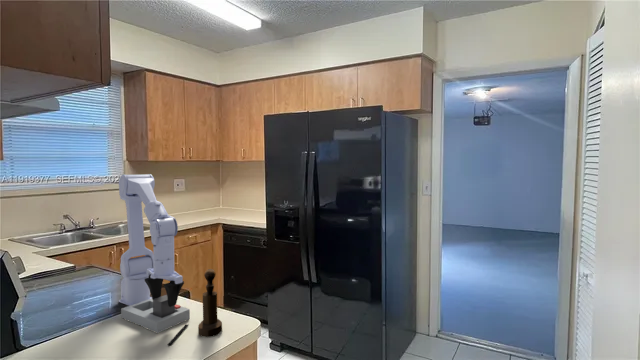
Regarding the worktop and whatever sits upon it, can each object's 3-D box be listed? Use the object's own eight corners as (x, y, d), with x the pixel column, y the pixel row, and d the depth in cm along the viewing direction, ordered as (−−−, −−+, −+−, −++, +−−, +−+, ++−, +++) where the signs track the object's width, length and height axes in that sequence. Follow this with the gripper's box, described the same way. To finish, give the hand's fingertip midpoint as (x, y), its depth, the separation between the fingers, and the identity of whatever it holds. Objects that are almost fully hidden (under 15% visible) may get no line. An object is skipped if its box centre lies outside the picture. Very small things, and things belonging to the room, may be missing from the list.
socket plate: (121, 318, 110) (121, 307, 110) (153, 306, 119) (153, 295, 119) (157, 332, 101) (157, 320, 101) (189, 318, 110) (189, 307, 110)
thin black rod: (185, 326, 106) (185, 322, 106) (189, 326, 106) (189, 322, 106) (167, 347, 94) (167, 343, 94) (171, 347, 94) (171, 343, 94)
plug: (153, 322, 107) (152, 299, 106) (166, 316, 111) (166, 294, 110) (161, 325, 105) (161, 302, 104) (174, 319, 109) (174, 297, 108)
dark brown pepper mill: (197, 328, 104) (197, 267, 103) (220, 325, 106) (220, 265, 105) (199, 339, 97) (198, 274, 97) (223, 334, 100) (223, 271, 99)
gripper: (137, 257, 107) (137, 301, 108) (167, 265, 100) (167, 312, 100) (158, 252, 113) (158, 294, 114) (188, 259, 106) (188, 304, 106)
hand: (164, 302), depth 108 cm, fingers open, 7 cm apart
